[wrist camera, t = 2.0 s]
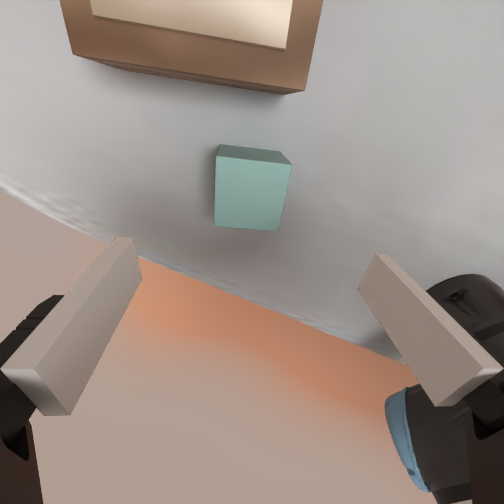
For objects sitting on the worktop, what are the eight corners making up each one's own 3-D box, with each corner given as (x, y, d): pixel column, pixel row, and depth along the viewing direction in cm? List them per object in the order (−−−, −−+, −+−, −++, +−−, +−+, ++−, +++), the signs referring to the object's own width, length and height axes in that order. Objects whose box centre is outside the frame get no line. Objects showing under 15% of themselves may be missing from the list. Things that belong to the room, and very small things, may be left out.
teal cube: (270, 206, 30) (278, 231, 24) (218, 202, 29) (213, 226, 24) (279, 151, 26) (292, 164, 21) (220, 144, 26) (216, 156, 20)
